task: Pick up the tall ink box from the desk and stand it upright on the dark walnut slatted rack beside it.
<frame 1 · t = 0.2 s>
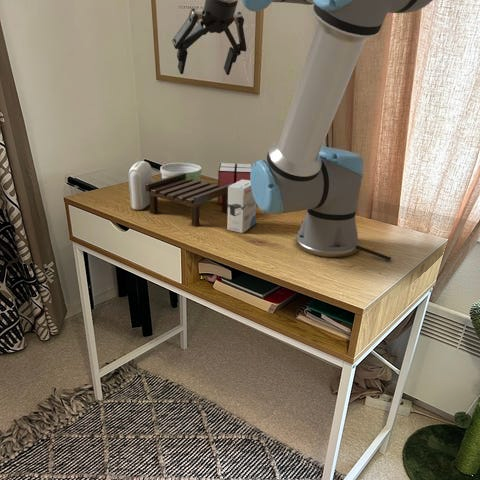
hand: (203, 71, 133), 35 cm above the table, tool tilted 35°, fingers open, 13 cm apart
rack: (190, 212, 139), on the table
photo printer: (142, 205, 144), on the table
ink box: (241, 227, 131), on the table
puzzle cube: (234, 200, 151), on the table
ramekin: (181, 189, 159), on the table
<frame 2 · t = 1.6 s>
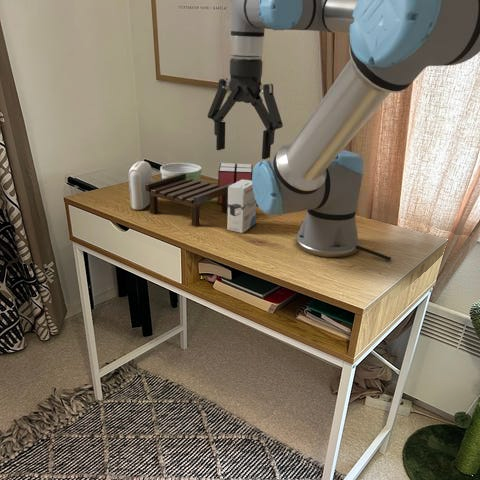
hand: (242, 153, 121), 19 cm above the table, tool pointing down, fingers open, 13 cm apart
nothing on the table moved.
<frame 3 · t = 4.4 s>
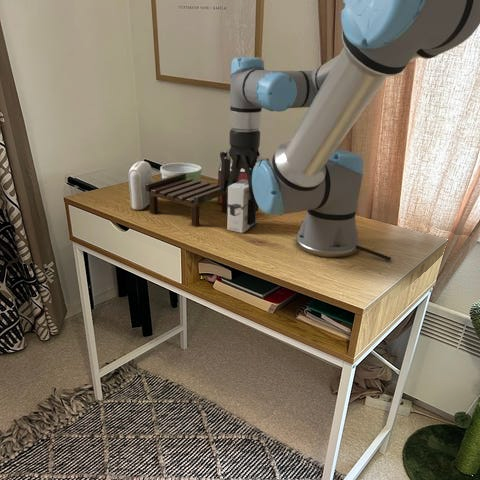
hand: (241, 220, 130), 2 cm above the table, tool pointing down, fingers closed on ink box, 5 cm apart
ink box: (241, 227, 131), on the table, touching gripper
everything else where it was.
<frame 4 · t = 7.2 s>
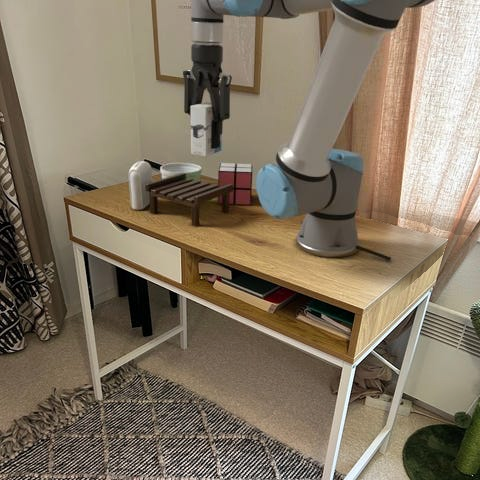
hand: (206, 145, 127), 19 cm above the table, tool pointing down, fingers closed on ink box, 5 cm apart
ink box: (206, 153, 128), point 17 cm above the table, touching gripper
everything else where it was.
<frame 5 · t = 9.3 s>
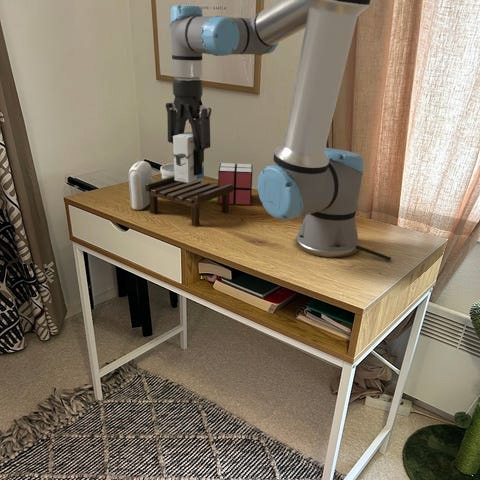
hand: (189, 172, 133), 11 cm above the table, tool pointing down, fingers closed on ink box, 5 cm apart
ink box: (189, 179, 134), point 9 cm above the table, touching gripper
everything else where it was.
when the fingers open (9 cm above the table, at t = 10.3 s): ink box stays where it is, resting on rack.
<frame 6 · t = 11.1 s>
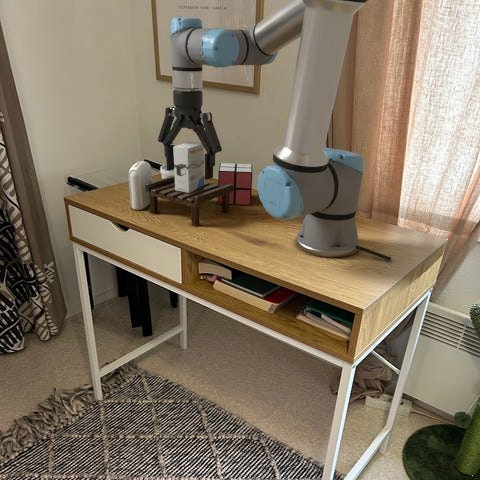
hand: (189, 174, 134), 11 cm above the table, tool pointing down, fingers open, 13 cm apart
ink box: (189, 189, 136), point 7 cm above the table, touching rack
everything else where it was.
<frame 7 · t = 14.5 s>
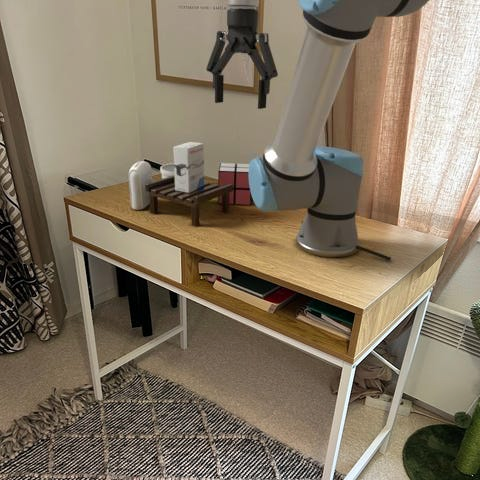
hand: (239, 105, 126), 29 cm above the table, tool pointing down, fingers open, 13 cm apart
nothing on the table moved.
at the end: ink box inside the target area on the rack (0.0 cm from its centre), point 6.8 cm above the rack's base; ink box tilted 0°; the gripper is holding nothing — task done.
